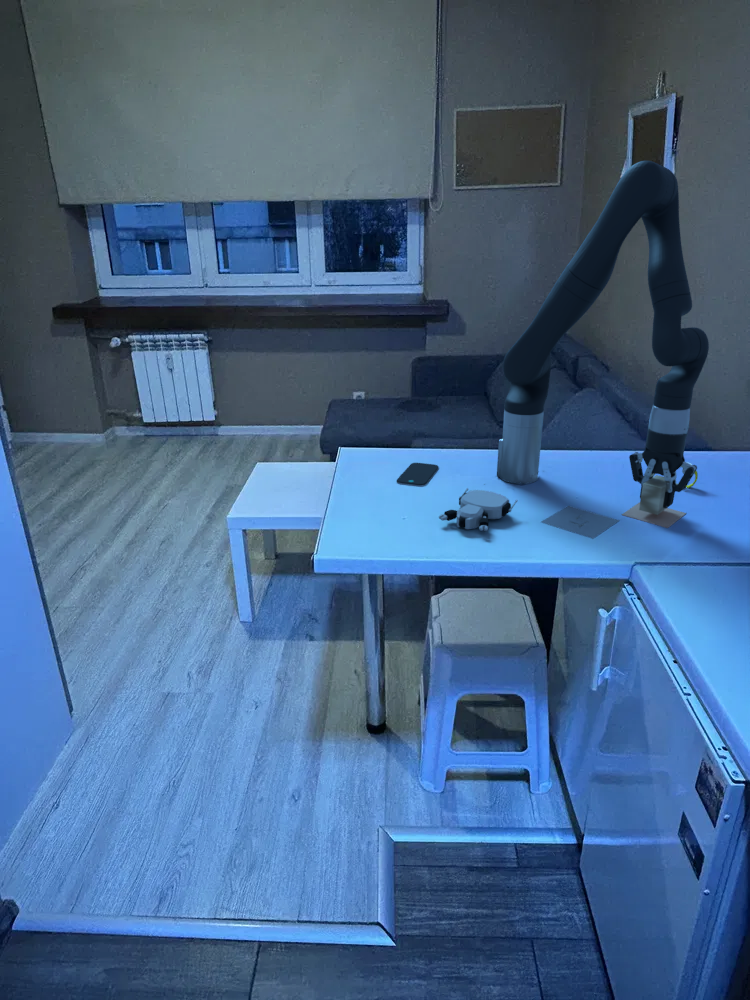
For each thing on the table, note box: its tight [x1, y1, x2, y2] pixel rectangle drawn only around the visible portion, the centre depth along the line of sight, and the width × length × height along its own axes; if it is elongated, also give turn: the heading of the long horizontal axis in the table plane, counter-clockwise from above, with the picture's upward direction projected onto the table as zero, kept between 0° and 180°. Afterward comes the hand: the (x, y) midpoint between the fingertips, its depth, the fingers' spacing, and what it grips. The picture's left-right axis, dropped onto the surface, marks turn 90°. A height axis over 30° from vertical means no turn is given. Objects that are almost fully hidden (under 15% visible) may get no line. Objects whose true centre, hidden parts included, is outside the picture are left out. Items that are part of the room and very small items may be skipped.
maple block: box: [639, 474, 667, 515], centre depth 146 cm, size 4×7×6 cm, turn 137°
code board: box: [540, 505, 620, 540], centre depth 145 cm, size 12×12×1 cm
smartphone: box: [396, 462, 440, 487], centre depth 172 cm, size 8×1×15 cm
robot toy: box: [438, 487, 518, 532], centre depth 145 cm, size 12×4×15 cm
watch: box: [676, 461, 699, 489], centre depth 162 cm, size 6×3×6 cm, turn 59°
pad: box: [621, 501, 687, 529], centre depth 148 cm, size 10×10×1 cm
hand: (655, 503), depth 147 cm, fingers closed on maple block, 4 cm apart
